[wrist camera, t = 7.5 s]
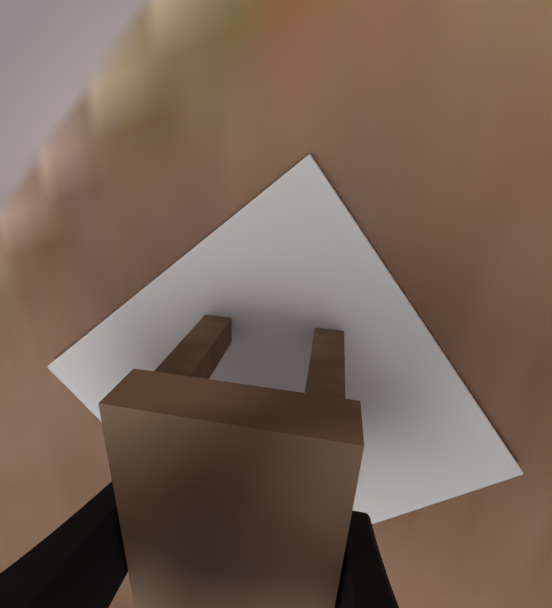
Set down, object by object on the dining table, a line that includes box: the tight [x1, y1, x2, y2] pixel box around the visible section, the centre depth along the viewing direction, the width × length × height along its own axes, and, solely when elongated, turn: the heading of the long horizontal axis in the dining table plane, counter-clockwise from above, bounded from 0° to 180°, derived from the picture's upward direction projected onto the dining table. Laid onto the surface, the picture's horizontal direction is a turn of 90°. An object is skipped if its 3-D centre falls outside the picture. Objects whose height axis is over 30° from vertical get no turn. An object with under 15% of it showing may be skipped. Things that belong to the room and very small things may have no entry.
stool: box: [98, 315, 364, 608], centre depth 11 cm, size 6×9×6 cm, turn 178°
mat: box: [47, 154, 523, 524], centre depth 14 cm, size 14×14×1 cm
